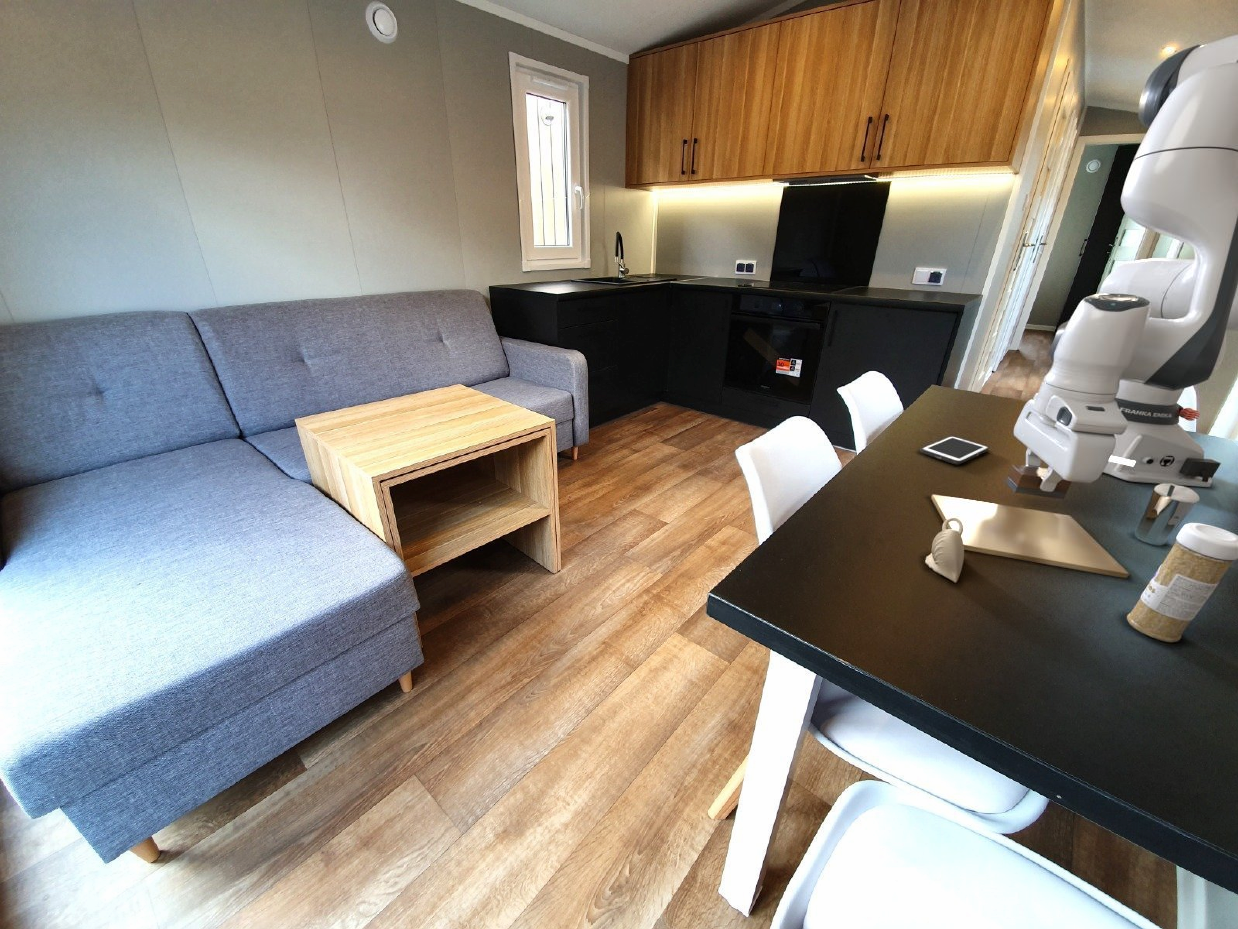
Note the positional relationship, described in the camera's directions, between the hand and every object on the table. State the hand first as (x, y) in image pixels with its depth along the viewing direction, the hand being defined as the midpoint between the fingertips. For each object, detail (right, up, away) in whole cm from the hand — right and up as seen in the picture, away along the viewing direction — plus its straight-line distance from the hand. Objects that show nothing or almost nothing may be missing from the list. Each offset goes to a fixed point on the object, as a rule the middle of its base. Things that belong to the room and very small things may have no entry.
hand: (1037, 482), depth 82 cm
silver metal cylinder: (+10, -9, -8) cm, 16 cm away
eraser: (0, -1, +1) cm, 2 cm away
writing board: (-9, -8, -7) cm, 14 cm away
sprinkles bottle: (-8, -16, -25) cm, 31 cm away
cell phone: (+1, +6, +22) cm, 22 cm away
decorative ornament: (-26, -11, -15) cm, 32 cm away
